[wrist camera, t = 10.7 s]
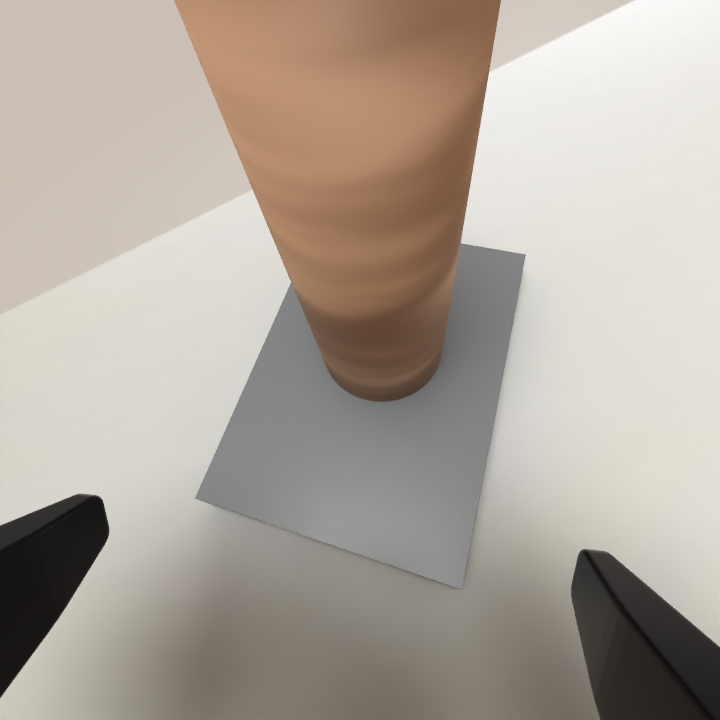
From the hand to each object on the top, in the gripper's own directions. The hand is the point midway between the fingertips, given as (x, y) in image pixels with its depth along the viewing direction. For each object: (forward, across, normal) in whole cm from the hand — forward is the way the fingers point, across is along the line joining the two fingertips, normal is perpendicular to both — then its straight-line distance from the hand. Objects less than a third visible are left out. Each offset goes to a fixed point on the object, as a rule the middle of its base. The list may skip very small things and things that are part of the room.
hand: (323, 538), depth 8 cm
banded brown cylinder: (+11, 0, 0) cm, 11 cm away
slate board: (+11, 0, +1) cm, 11 cm away
